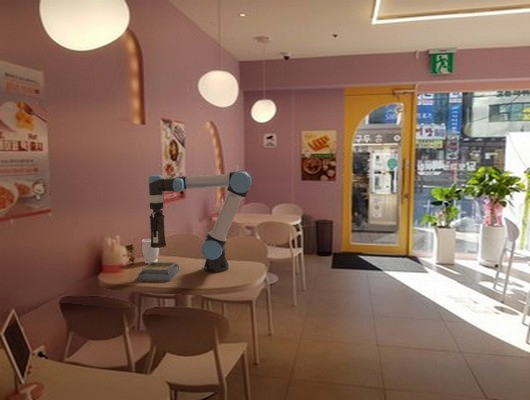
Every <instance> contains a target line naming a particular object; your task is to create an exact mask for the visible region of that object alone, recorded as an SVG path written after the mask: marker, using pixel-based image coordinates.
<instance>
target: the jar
mask: <svg viewBox="0 0 530 400" xmlns="http://www.w3.org/2000/svg"><path fill="white" fill-rule="evenodd" d="M141 243H142V245H141V251H142V255H143V258H144V263H145V264H149V263H151V262H159V260H158V258H159V253H160V248H152V247H151V246H150V245H151V237H150V238H143V239H142V240H141Z"/></svg>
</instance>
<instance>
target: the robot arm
mask: <svg viewBox="0 0 530 400" xmlns="http://www.w3.org/2000/svg"><path fill="white" fill-rule="evenodd" d="M252 184H253V176H252V174H251V173H250V172H249V171H247V170H243V169H242V170H237V171H229V172H228V173H223V174H207V175H205V174H204V175H203V174H202V175H189V176H188V175H187V176H175V177H172V178H163V175H161V174H152V175H149V177H148V192H149V193H148V194H149V196H148V198H149V202H150V203H149V209H150V210H152V213H151V214H150V216H151V225H150V233H151V232H153V243H158V231H157V227H158V225H157V221H156V217H159V216H160V215H164V214H163V213H164V212H163V209H164V193H165V192H168V193H169V192H170V193H171V192H173V193H174V192H176V193H178V192H179V193H180V192H183V191H184V190H189V189H193V190H194V189H207V188H208V189H211V188H227V189H226V190H227V191H226V192H227V195H226V197H225V200H224V201H223V205H222V207H221V210H220V212H219V214H218V216H217V218H216V221H215V223H214V225H213V228H212V230H211V231H208V232H206V235H205V240H204V243H203V244H202V246H201V254H202V255H203V257H204V258H205V262H204V264H203V270H204V271H206V272H209V273H219V272H220V273H221V272H224V271H227V270H229V268H230V267H229V261H228V259H227V256H226V254H227V253H226V244H227V241H228V238H227V235H228V232H229V230H230V228H231V226H232V224H233V221H234V219H235V216H236V214H237V212H238V209H239V207H240V205H241V202H242V200H244V199H246V197H247V195H248V192H249V190H250V189H251V186H252Z"/></svg>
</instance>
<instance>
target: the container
mask: <svg viewBox="0 0 530 400" xmlns="http://www.w3.org/2000/svg"><path fill="white" fill-rule="evenodd" d="M149 221H150V226H151V215H150V216H149ZM156 221H157V225H158V227H157V231H158V243H153V232H151V231H150V238H151V245H150V246H151V247H152V248H159V249H160V248H165V247H167V243H166V242H167V241H166V236H165V235H166V234H165V215H164V214H163V215H160V216H159V217H156Z"/></svg>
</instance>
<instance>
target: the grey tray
mask: <svg viewBox="0 0 530 400" xmlns="http://www.w3.org/2000/svg"><path fill="white" fill-rule="evenodd" d="M179 272H180V264H179V263H176V262H174V261H173V262H171V261H167V262H166V261H165V262H163V261H157V262H151V263H147V265H146V266H145V267H143V268H142V270H141V271H140V272H139V273H138V275H137V276H138V279H137V281H138V282H171V281H172V279H173V278H174V277H175V276H176V275H177V274H178V273H179Z"/></svg>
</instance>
